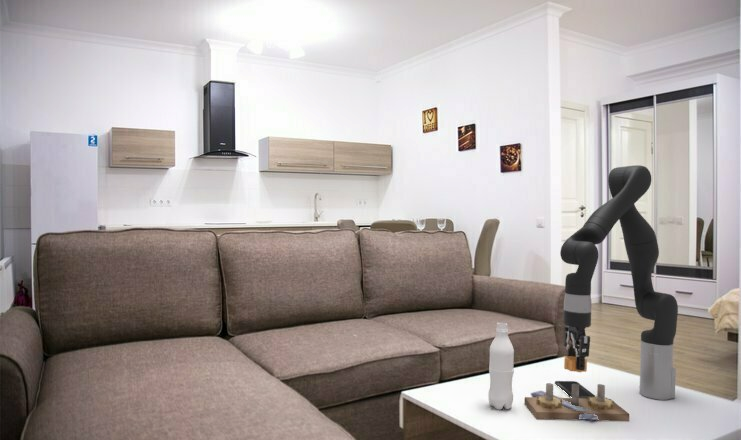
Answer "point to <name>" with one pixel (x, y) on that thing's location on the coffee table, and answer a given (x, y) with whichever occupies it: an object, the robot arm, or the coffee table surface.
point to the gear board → (574, 413)
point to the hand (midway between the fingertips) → (575, 366)
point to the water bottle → (501, 369)
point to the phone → (568, 388)
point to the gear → (573, 364)
